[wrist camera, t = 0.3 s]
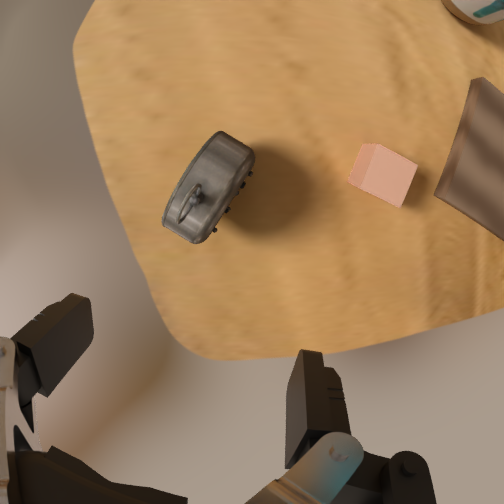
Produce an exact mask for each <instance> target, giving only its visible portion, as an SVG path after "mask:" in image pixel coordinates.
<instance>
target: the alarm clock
mask: <svg viewBox="0 0 504 504" xmlns="http://www.w3.org/2000/svg"><path fill="white" fill-rule="evenodd" d="M254 162H255V154H254V152H253V150H252V149H251V148H250V147H248V146H246V145H245V144H243V143H242V142H240V141H238V140H237V139H235V138H233V137H232V136H230V135H228V134H227V133H225V132H223V131H218V132H216V133H215V134H214V135H213V136H212V137H211V138H210V139H209V140H208V141H207V142H206V143H205V144H204V145H203V146H202V148H201V150H200V151H199V152H198V153H197V155H196V156H195V157H194V159H193V160H192V161H191V163H190V164H189V166H188V167H187V169H186V170H185V172H184V173H183V175H182V177H181V179H180V180H179V182H178V184H177V186H176V187H175V189H174V191H173V193H172V195H171V197H170V199H169V201H168V204H167V206H166V208H165V211H164V214H163V217H162V225H163V226H164V227H166V228H168V229H170V230H171V231H173V232H174V233H176V234H178V235H179V236H181V237H183V238H184V239H186V240H188V241H189V242H191V243H193V244H199V243H202V242H204V241H205V240H206V239H207V238H208V237H209V235H210V234H211V232H212V231H213V232H214V233H215V232H217V228H215V226H216V225H217V223H218V221H219V220H220V218H221V217H222V215H223V213H224V212H225V213H227V212H228V211H229V210H231V209H230V207H228V205H229V204H230V202H231V201H232V199H233V198H234V196H237V195H238V194H239V191H238V190H239V188H241V189H243V188H244V186H245V184H246V183H245V182H244V180H245V178H246V177H247V176H250V177H251V176H252V175H253V172H252V171H250V170H251V169H252V167H253V165H254Z"/></svg>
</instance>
